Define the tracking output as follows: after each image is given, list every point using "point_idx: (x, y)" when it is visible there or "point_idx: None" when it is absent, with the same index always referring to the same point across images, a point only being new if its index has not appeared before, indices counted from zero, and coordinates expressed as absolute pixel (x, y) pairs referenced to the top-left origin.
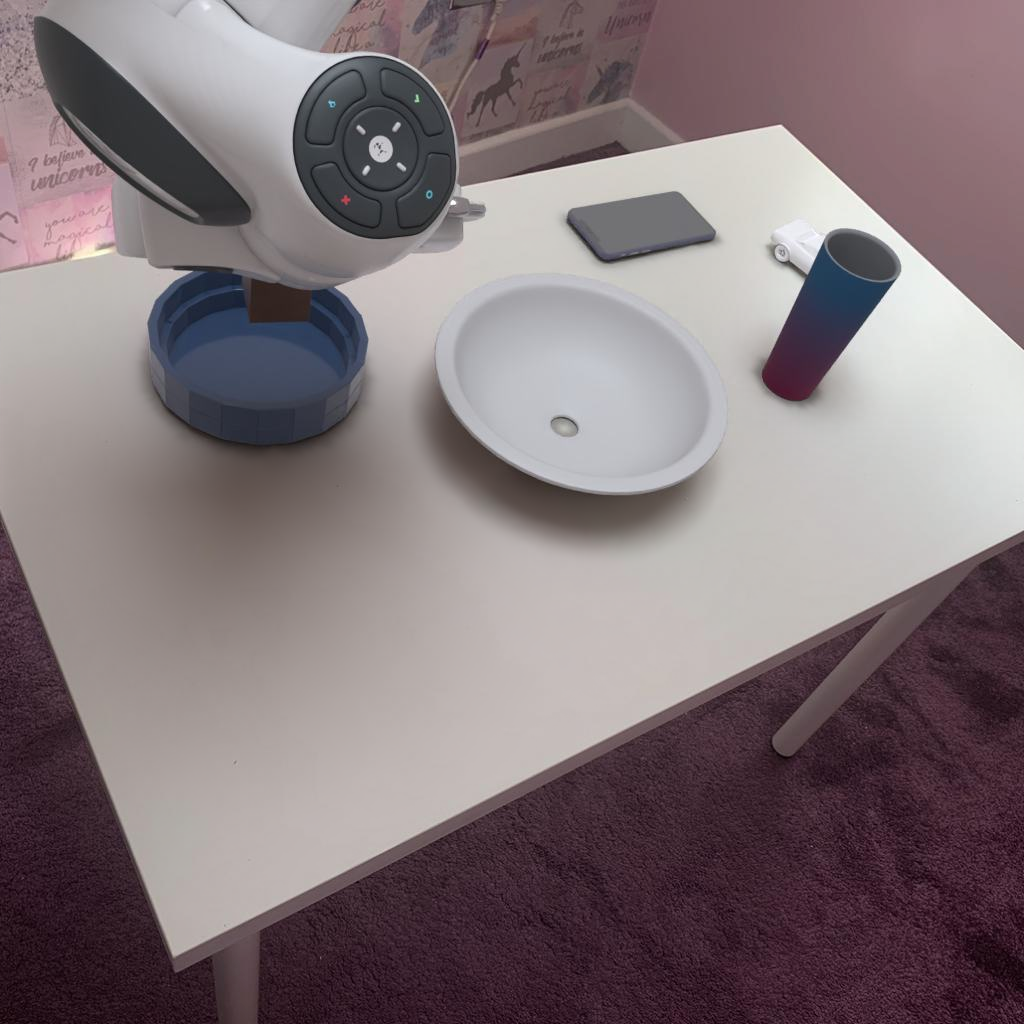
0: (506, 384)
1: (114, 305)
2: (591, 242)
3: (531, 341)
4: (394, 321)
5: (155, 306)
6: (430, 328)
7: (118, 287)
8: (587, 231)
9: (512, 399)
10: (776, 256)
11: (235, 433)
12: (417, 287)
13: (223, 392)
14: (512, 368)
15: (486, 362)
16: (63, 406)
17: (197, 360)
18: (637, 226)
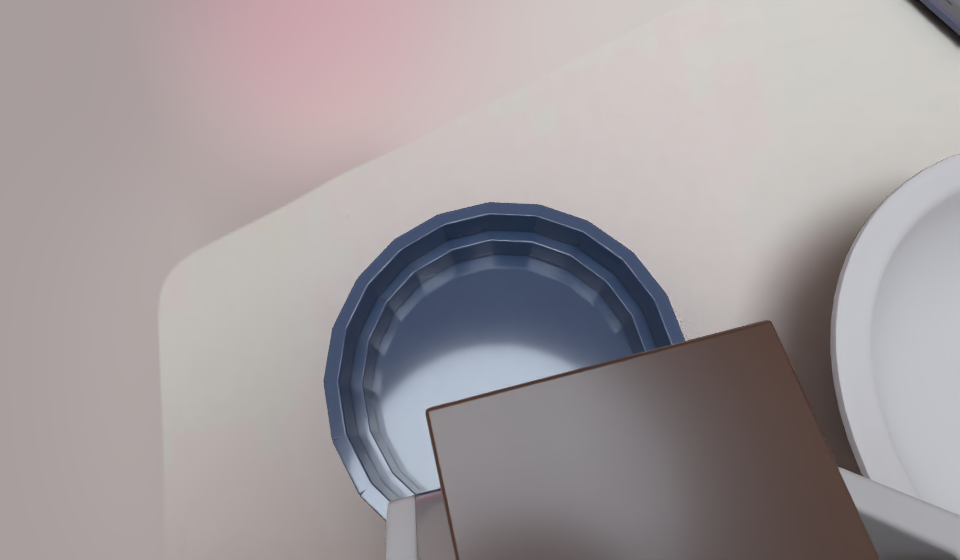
0: (903, 354)
1: (294, 286)
2: (953, 21)
3: (938, 263)
4: (684, 234)
5: (333, 343)
6: (740, 237)
7: (296, 251)
8: (944, 2)
9: (917, 382)
10: None
11: None
12: (705, 160)
13: None
14: (908, 319)
15: (876, 329)
16: (238, 503)
17: (414, 382)
18: None
